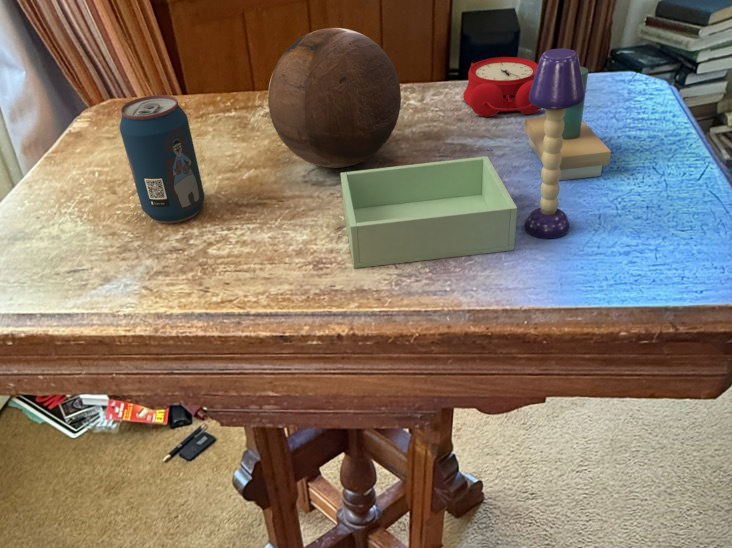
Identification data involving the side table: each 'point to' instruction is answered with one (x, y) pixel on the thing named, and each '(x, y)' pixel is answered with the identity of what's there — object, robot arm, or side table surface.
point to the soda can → (162, 158)
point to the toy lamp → (553, 134)
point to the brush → (572, 142)
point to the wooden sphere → (334, 97)
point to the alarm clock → (500, 86)
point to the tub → (427, 212)
